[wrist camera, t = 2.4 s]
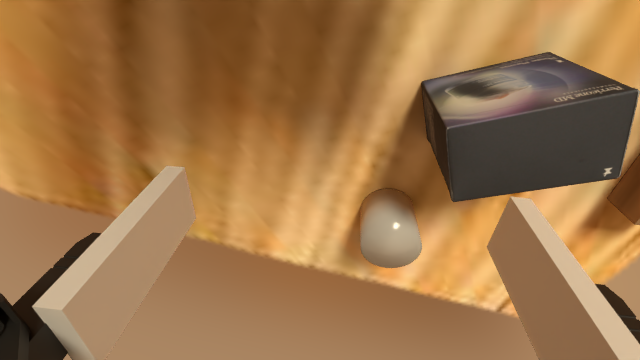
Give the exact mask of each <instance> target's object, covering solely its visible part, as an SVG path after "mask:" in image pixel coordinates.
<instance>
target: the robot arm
mask: <svg viewBox="0 0 640 360" xmlns="http://www.w3.org/2000/svg"><path fill="white" fill-rule="evenodd" d="M195 219H196V215H195V211H194V206H193V202H192V197H191V193H190V189H189V184H188V180H187V175H186V171H185V167H177V166H166V167H165V168H164V169H163V170H162V171H161V172H160V173H159V174H158V175H157V176H156V177H155V178H154V179H153V180H152V182H151V183H150V184H149V185H148V186H147V187H146V188H145V189H144V190H143V191H142V192H141V193H140V194H139V195H138V196H137V197H136V198H135V199H134V200H133V201H132V202H131V203H130V205H129V206H128V207H127V208H126V209H125V210H124V211H123V212H122V213H121V214H120V215H119V216H118V217H117V218H116V219H115V220H114V221H113V222H112V223H111V224H110V225H109V226H108V228H107V229H106V230H105V231H104V232H103V233H92V234H90V235H89V236H87V237H86V238H84V239H82V240H80V241H79V242H77V243H76V244H75V245H74V246H73V247H72V248H71V249H70V250H69V251H68V252H67V253H66V254H65V255H64V257H63V258H61V259H60V260H59V261H58V262H57V263H56V264H55V265H54V267H53V268H51V269H50V270H49V271H48V272H46V274H44V275H43V276H42V277H41V278H40V279H39V280H38V281H37V282H36V283H35V284H34V285H33V286H32V287H31V288H30V289H29V290H28V291H27V292H26V293H25V294H24V295H23V296H22V297H21V298H20V299H19V300H18V301H17V302H16V303H15V304H14V305H13V306H12V305H11V304H10V303H9V302H8V301H7V299H6V298H5V297H4V296H3V295H2V294H0V360H63V359H64V357H65V356H66V354H67V353H68V355H69V356H70V357H71V359H72V360H106V358H107V356H108V355H109V353H110V352H111V350H112V349H113V347H114V345H115V344H116V342H117V341H118V339H119V338H120V336H121V335H122V333H123V331H124V330H125V328H126V327H127V325H128V324H129V322H130V320H131V319H132V317H133V316H134V314H135V313H136V311H137V310H138V308H139V306H140V305H141V303H142V302H143V300H144V299H145V297H146V296H147V294H148V292H149V291H150V289H151V288H152V286H153V285H154V283H155V281H156V280H157V278H158V277H159V275H160V273H161V272H162V271H163V269H164V267H165V266H166V264H167V263H168V261H169V260H170V258H171V256H172V255H173V253H174V252H175V250H176V249H177V247H178V245H179V244H180V242H181V241H182V239H183V238H184V236H185V235H186V233H187V231H188V230H189V228H190V227H191V225H192V224H193V222H194V221H195ZM487 249H488V251H489V253H490V255H491V257H492V259H493V261H494V264H495V266H496V268H497V270H498V272H499V274H500V277H501V279H502V281H503V283H504V285H505V287H506V290H507V292H508V294H509V296H510V298H511V300H512V303H513V305H514V307H515V309H516V311H517V313H518V316H519V318H520V320H521V322H522V324H523V326H524V328H525V331H526V333H527V335H528V337H529V339H530V341H531V344H532V346H533V348H534V350H535V352H536V354H537V357H538V359H539V360H640V321H639V320H637V319H636V316H635V315H634V313H633V312H632V311H631V310H630V308H629V307H628V306H627V305H626V303H625V302H624V301H623V300H622V299H621V298H620V297H619V296H617V295H616V294H615V293H614V292H612V291H611V290H610V289H609V288H608V287H606V286H605V285H600V284H594V283H593V281H592V280H591V279H590V277H589V276H588V275H587V273H586V272H585V271H584V269H583V268H582V267H581V265H580V264H579V263H578V261H577V260H576V259H575V257H574V256H573V255H572V253H571V252H570V251H569V249H568V248H567V247H566V245H565V244H564V243H563V241H562V240H561V239H560V237H559V236H558V235H557V233H556V232H555V231H554V229H553V228H552V227H551V225H550V224H549V222H548V221H547V220H546V218H545V217H544V216H543V214H542V213H541V212H540V210H539V209H538V208H537V206H536V205H535V204H534V202H533V201H532V200H531V199H529V198H518V197H510V199H509V201H508V203H507V205H506V207H505V209H504V211H503V214H502V216H501V218H500V220H499V222H498V224H497V226H496V228H495V231H494V233H493V235H492V237H491V239H490V241H489V243H488V245H487Z"/></svg>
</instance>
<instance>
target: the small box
mask: <svg viewBox="0 0 640 360" xmlns="http://www.w3.org/2000/svg"><path fill="white" fill-rule="evenodd" d="M421 84H422V95H423V105H424V114H425V123H426V132H427V139H428V141H429V142H430V144H431V146H432V149H433V152H434V154H435V156H436V159H437V162H438V164H439V167H440V169H441V172H442V174H443V176H444V179H445V181H446V184H447V186H448V189H449V192H450V196H451V200H452V201H453V202H458V201H464V200H471V199H478V198H485V197H492V196H499V195H506V194H513V193H520V192H526V191H534V190H540V189H547V188H554V187H561V186H568V185H575V184H582V183H589V182H596V181H602V180H609V179H616V178H619V177H620V175H621V171H622V166H623V161H624V157H625V153H626V149H627V144H628V140H629V135H630V132H631V127H632V123H633V119H634V115H635V110H636V107H637V102H638V97H639V93H640V91H639V90H638V89H635V88H631V87H629V86H626V85H624V84H622V83H620V82H617V81H615V80H613V79H610V78H608V77H606V76H603V75H601V74H599V73H596V72H594V71H591V70H589V69H587V68H585V67H582V66H580V65H578V64H575V63H573V62H571V61H568V60H566V59H564V58H562V57H559V56H557V55H555V54H553V53H551V52H547V53H542V54H538V55H534V56H529V57H525V58H521V59H516V60H512V61H508V62H503V63H499V64H495V65H491V66H486V67H482V68H477V69H473V70H469V71H464V72H460V73H456V74H452V75H447V76H443V77H439V78H434V79H430V80H425V81H422V83H421Z"/></svg>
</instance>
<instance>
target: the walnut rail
mask: <svg viewBox="0 0 640 360" xmlns="http://www.w3.org/2000/svg"><path fill="white" fill-rule="evenodd" d="M607 199H608V200H609V201H610V202H611V203H612V204H613V205H614V206H615V207H617V208H618V209H619V210H620V211H621V212H622V213H623V214H624V215H625V216H626V217H627V218H628V219H629V220H630V221H632V222H633V223H634V224H636V225H640V155H639V156H638V157H637V159H636V160H635V161H634V163H633V164H632V165H631V167H630V168H629V170H628V171H627V172H626V174H625V175H624V176H623V178H622V179H621V180H620V182H619V183H618V184H617V186H616V187H615V189H614V190H613V191H612V193H611V194H610V195H609V197H608V198H607Z"/></svg>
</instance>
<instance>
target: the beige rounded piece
mask: <svg viewBox="0 0 640 360" xmlns="http://www.w3.org/2000/svg"><path fill="white" fill-rule="evenodd" d="M421 249H422V243H421V238H420V234H419V229H418V225H417V220H416V215H415V211H414V206H413V203H412V201H411V199H410V198H409V196H408V195H406V194H405V193H403V192H401V191H399V190H396V189H380V190H377V191H374V192H372V193H370V194H369V195H368V196H367V197H366V198H365V199H364V200H363V202H362V204H361V252H362V254H363V256H364V257H365V258H366V259H367V260H368V261H369V262H371V263H372V264H374V265H377V266H380V267H385V268H397V267H402V266H405V265H408V264H410V263H411V262H413V261H414V260H415V259H416V258H417V257H418V256H419V255H420V253H421Z"/></svg>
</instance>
